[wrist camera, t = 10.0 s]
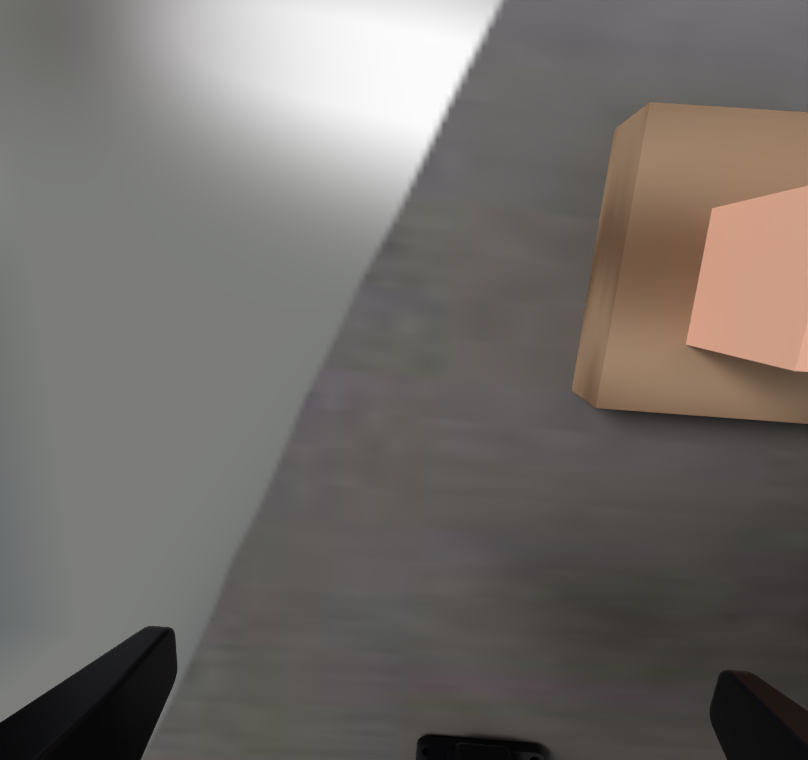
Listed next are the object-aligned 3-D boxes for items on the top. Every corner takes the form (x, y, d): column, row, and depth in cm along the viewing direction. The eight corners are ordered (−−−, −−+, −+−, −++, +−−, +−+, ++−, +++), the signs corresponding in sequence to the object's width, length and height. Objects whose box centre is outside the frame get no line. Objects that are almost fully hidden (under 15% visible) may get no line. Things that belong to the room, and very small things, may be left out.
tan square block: (801, 405, 19) (872, 428, 16) (568, 388, 19) (595, 408, 16) (875, 150, 16) (974, 123, 13) (608, 133, 16) (649, 102, 14)
